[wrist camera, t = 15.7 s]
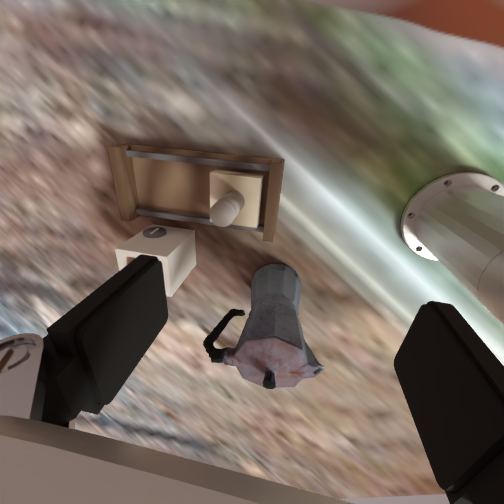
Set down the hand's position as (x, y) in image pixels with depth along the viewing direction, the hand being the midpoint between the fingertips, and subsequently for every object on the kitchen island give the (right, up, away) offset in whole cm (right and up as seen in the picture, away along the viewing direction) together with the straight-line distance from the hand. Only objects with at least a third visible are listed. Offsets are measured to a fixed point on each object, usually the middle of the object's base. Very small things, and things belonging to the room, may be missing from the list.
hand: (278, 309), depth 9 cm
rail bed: (-9, +12, +30) cm, 34 cm away
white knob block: (-15, +3, +36) cm, 39 cm away
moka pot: (+3, -4, +36) cm, 36 cm away
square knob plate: (-3, +11, +28) cm, 30 cm away
